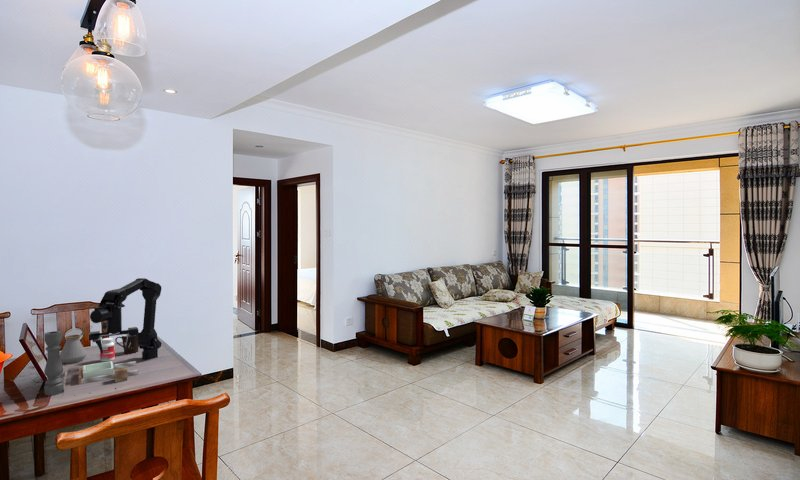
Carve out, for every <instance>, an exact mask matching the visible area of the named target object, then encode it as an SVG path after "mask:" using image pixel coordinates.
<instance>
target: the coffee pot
mask: <svg viewBox="0 0 800 480" xmlns="http://www.w3.org/2000/svg"><path fill="white" fill-rule="evenodd" d="M92 328H93V326H92V325H87V326H86V327H85V329H84V330H82V332H81V333H80V334H70V335H66V336H65V337H64V339H65V343H64V346H62V347H63V348H61V349H62V350H61V351H60V359H61V363H63V364H74V363H80V362H82V361H83V359H85V358H86V357H87V355H88V353H87V350H86V349H85V347H84V345H83V344H82V342H81V340H80V339H81V337H83V335H84V334H86V333H87V331H88V330H89V329H92Z"/></svg>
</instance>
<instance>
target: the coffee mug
mask: <svg viewBox="0 0 800 480" xmlns="http://www.w3.org/2000/svg"><path fill="white" fill-rule="evenodd" d="M118 339H122V344H121V343H119V342H118V341H117V340H118ZM137 339H138V335H135V337H133V338H132V340H131V342H130V344H129V346H128V349H127V351H126V341H127V334H123V335H121V336H117V337H116V338H115V340H114V342H115V344H117V345H119V346H120V347H122V348H123V353H124V354H125V355H134V354H136V352H137V353H139V349H140V348H139V345H138V341H137ZM133 353H134V354H133Z"/></svg>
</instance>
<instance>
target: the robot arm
mask: <svg viewBox="0 0 800 480" xmlns="http://www.w3.org/2000/svg"><path fill="white" fill-rule="evenodd" d="M138 290H139V291H141V294H142V295H141V296H142V298H143V299H144V312H143V324H142V325H143V326H142V329H141V331H140V332H139V328H138V327H136V326H133V327H128V328H127V329H122V328H123V327H122V325H123V324H122V320H123V319H122V314H123V313H122V308H125V307H126V305H125V304H123V302H124V301H126V300H127V298H128V296H130V295H132V294H133V293H135V292H137V291H138ZM161 293H162V285H161V284H160V283H157V282H154V281H151V280H149V279H147V278H145V277H143V278H139V277H138V278H136V279H135V280H133V281H131V282H129V283H128V284H127V283H126V285H123V286H121V287H120V288H116V289H111V290H107V291H105V293H104V295H103V296H102V298H101V300H100V302H99V304H98V305H97V306H96V307H94V310H93V311H91V313H90V314H89V319H90V321H91V322H92V323H93V324H100V323H102V330H103V331H104V330H106V331H105V332H101V331H100V330H99V331H98V330H97V331H96V330H95V331H90V332H89V333H88V341H90V342H91V341H92V342H93V343H96V345H97V347H98V349H99V352H100V351H101V354H103V349H102V338H107V337H113V336H120V335H121V336H122V335H123V334H127V341H126V351H127V349H128V346H129V344H130V342H131V340H132V338H133V337H135V335H138V339H137V341H138V345H139V349H140V350H141V349H142V351H141V360H143V361H144V360H154V359H156V358H158V357H159V356H158V355H159V353H158V352H159V351H158V350H159V349H160V348H161V347H162V343H163V342H161V341H160V339H158V333H157V331H156V329H155V321H156V310H157V300H158V299H159V298H160V296H161Z"/></svg>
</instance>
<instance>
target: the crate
mask: <svg viewBox="0 0 800 480" xmlns="http://www.w3.org/2000/svg"><path fill="white" fill-rule="evenodd" d="M113 361H114V360H112V361H107V362H97V363H91V364H86V365H85V364H84V365H83V366H82V369H83V374H82V379H84V378H90V377H96V376H103V375H109V374H115V369H113V365H114V363H113Z"/></svg>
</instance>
